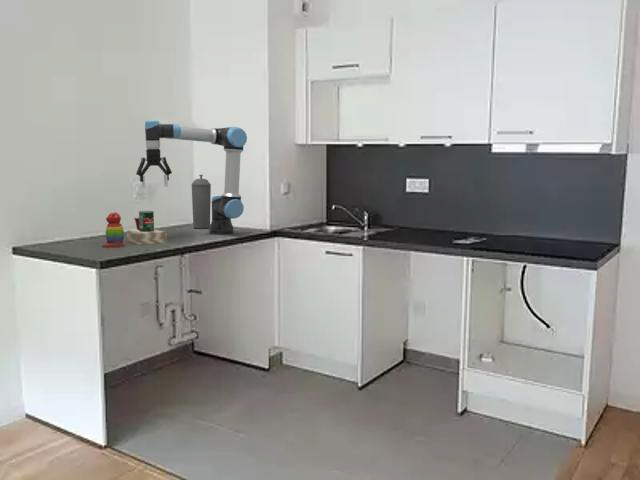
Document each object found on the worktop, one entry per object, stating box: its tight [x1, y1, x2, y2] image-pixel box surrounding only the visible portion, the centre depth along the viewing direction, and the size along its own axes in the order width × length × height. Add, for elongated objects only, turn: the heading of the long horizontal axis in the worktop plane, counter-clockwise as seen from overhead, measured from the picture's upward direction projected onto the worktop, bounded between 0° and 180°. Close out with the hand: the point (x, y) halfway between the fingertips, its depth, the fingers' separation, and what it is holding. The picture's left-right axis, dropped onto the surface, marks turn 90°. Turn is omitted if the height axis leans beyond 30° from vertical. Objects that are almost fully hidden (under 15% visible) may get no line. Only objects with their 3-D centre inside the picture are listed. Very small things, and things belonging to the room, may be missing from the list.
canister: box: [191, 174, 212, 230], centre depth 405 cm, size 13×13×35 cm
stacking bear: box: [102, 212, 125, 248], centre depth 326 cm, size 11×10×18 cm
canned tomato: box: [138, 210, 155, 232], centre depth 342 cm, size 8×8×11 cm
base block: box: [126, 228, 168, 246], centre depth 343 cm, size 16×16×6 cm
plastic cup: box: [133, 216, 139, 230], centre depth 361 cm, size 11×11×12 cm
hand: (155, 187), depth 345 cm, fingers open, 13 cm apart
